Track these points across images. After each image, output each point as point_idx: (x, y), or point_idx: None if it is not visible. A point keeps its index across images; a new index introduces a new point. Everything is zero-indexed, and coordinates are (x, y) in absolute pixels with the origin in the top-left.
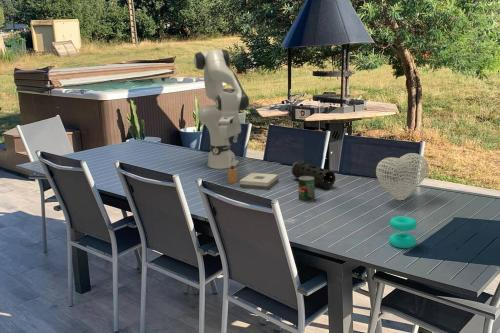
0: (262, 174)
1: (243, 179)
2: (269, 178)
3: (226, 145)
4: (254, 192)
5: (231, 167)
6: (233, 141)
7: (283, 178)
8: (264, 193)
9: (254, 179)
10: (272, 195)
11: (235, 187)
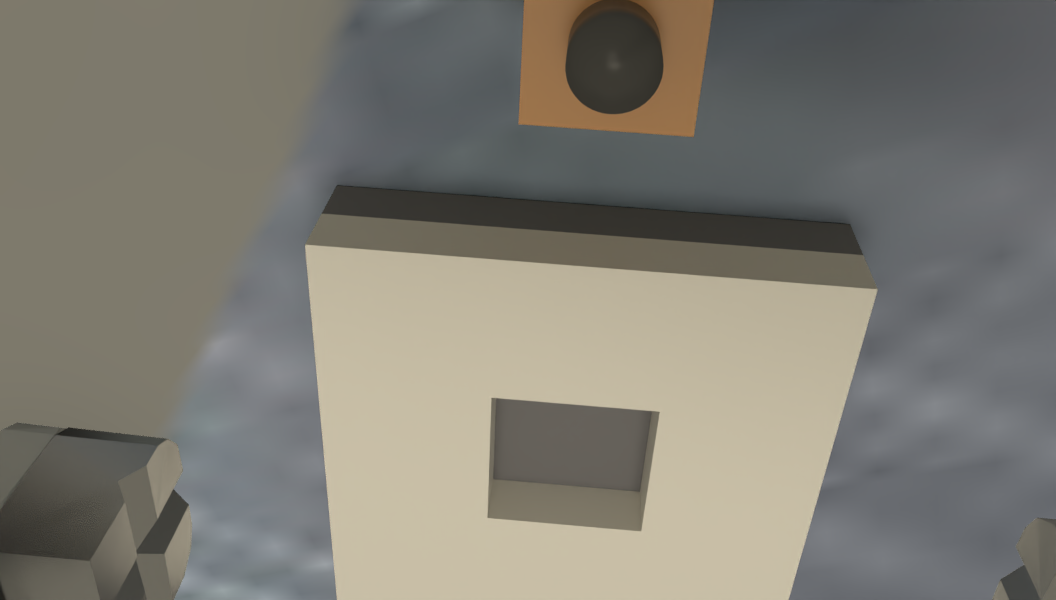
0: (768, 468)
1: (387, 282)
2: (550, 585)
3: (26, 447)
4: (203, 419)
5: (567, 51)
6: (1052, 565)
7: (935, 583)
8: (217, 520)
9: (441, 431)
10: (186, 596)
11: (323, 111)
